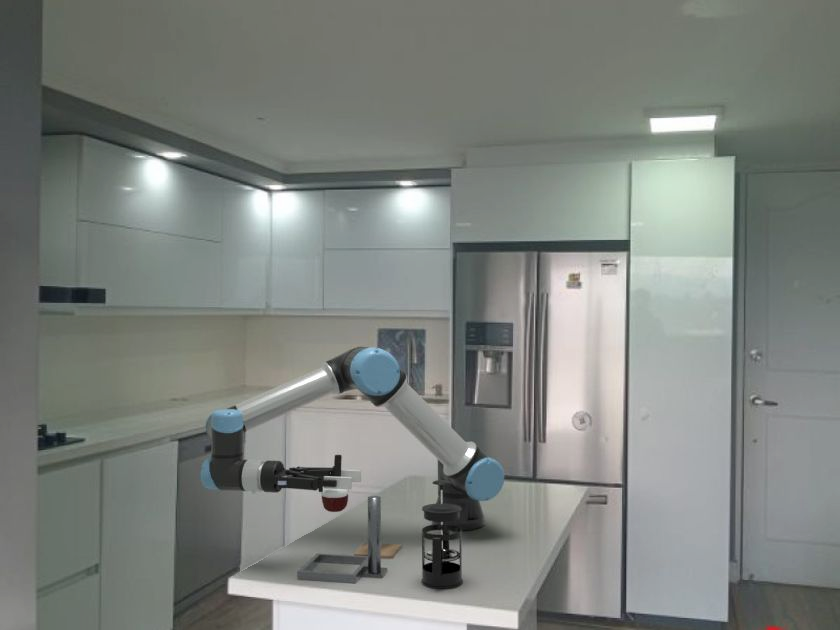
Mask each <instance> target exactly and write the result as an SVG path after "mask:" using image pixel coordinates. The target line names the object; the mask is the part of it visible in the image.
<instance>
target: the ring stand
mask: <svg viewBox="0 0 840 630" xmlns="http://www.w3.org/2000/svg"><path fill="white" fill-rule="evenodd" d="M381 502H382V501H381V496H380V495H368V496H367V543H368V556H354V554H353V555H350V554H336V553H320V552H319V553H317V552H316V554H315V555H313V556H312V557H311V558H310V559H309V560H308V561H307V562H306V563H305V564H304V565H302V566H301V567H300V568H299V569H298V570H297V571H296V579H297V580H299V581H300V580H302V581H316V582H318V581H320V582H331V583H333V582H335V583H346V584H348V583H349V584H357V583H358V581H359V580H360V579H361V578H374V579H375V578H378V579H383V578H384V576H386V574H387V573H388V567H382V562H381V561H382V558H381V544H382V532H381V531H382V530H381V529H382V526H381V525H382V524H381V523H382V521H381V518H382V517H381V515H382V514H381V509H382V508H381V505H382V504H381ZM319 563H329V564H330V563H331V564H342V565H343V564H345V565H346V564H347V565H359V566H358V567H357V568H356V569H355V570H354V571H353V572H352V573H348V572H332V571H318V570H317V571H315V570H313V569H314V568H315V567H316V566H318V564H319Z"/></svg>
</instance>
